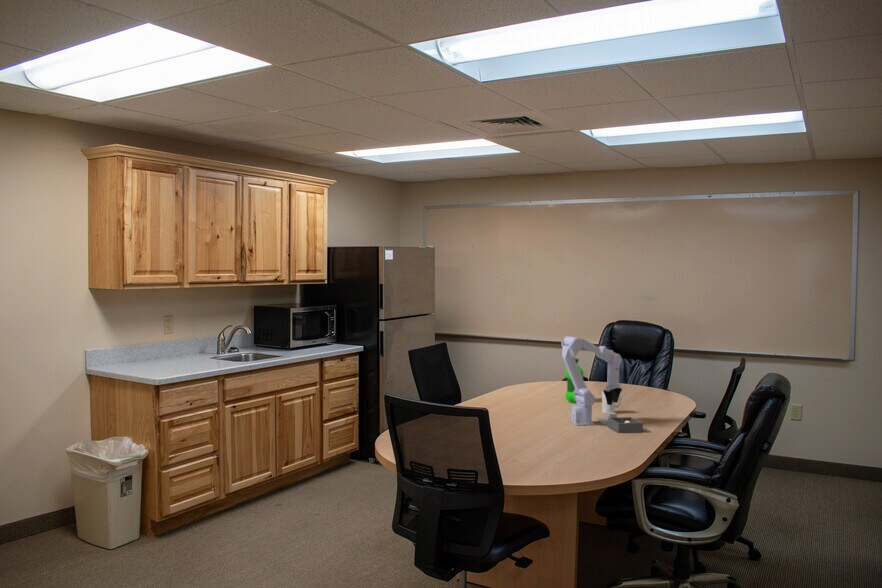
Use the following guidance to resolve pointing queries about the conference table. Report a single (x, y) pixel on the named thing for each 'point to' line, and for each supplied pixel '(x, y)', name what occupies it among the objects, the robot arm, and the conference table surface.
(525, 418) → the conference table surface
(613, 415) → the bin lid
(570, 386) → the plastic bottle
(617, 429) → the bin
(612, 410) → the mug
